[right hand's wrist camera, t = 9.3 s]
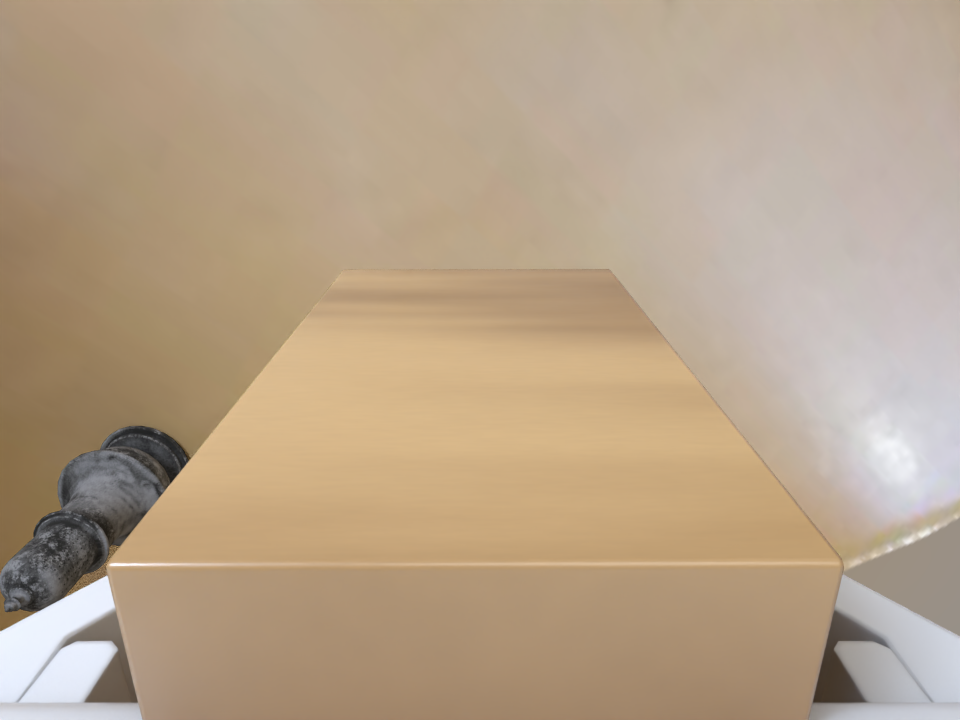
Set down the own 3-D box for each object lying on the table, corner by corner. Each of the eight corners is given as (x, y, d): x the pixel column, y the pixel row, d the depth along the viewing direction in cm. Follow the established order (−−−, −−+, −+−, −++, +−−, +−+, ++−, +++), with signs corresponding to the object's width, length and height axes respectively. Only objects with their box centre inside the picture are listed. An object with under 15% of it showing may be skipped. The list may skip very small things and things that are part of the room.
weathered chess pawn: (213, 457, 39) (100, 599, 28) (167, 526, 41) (44, 686, 29) (121, 402, 38) (-36, 527, 26) (77, 475, 39) (-87, 622, 28)
